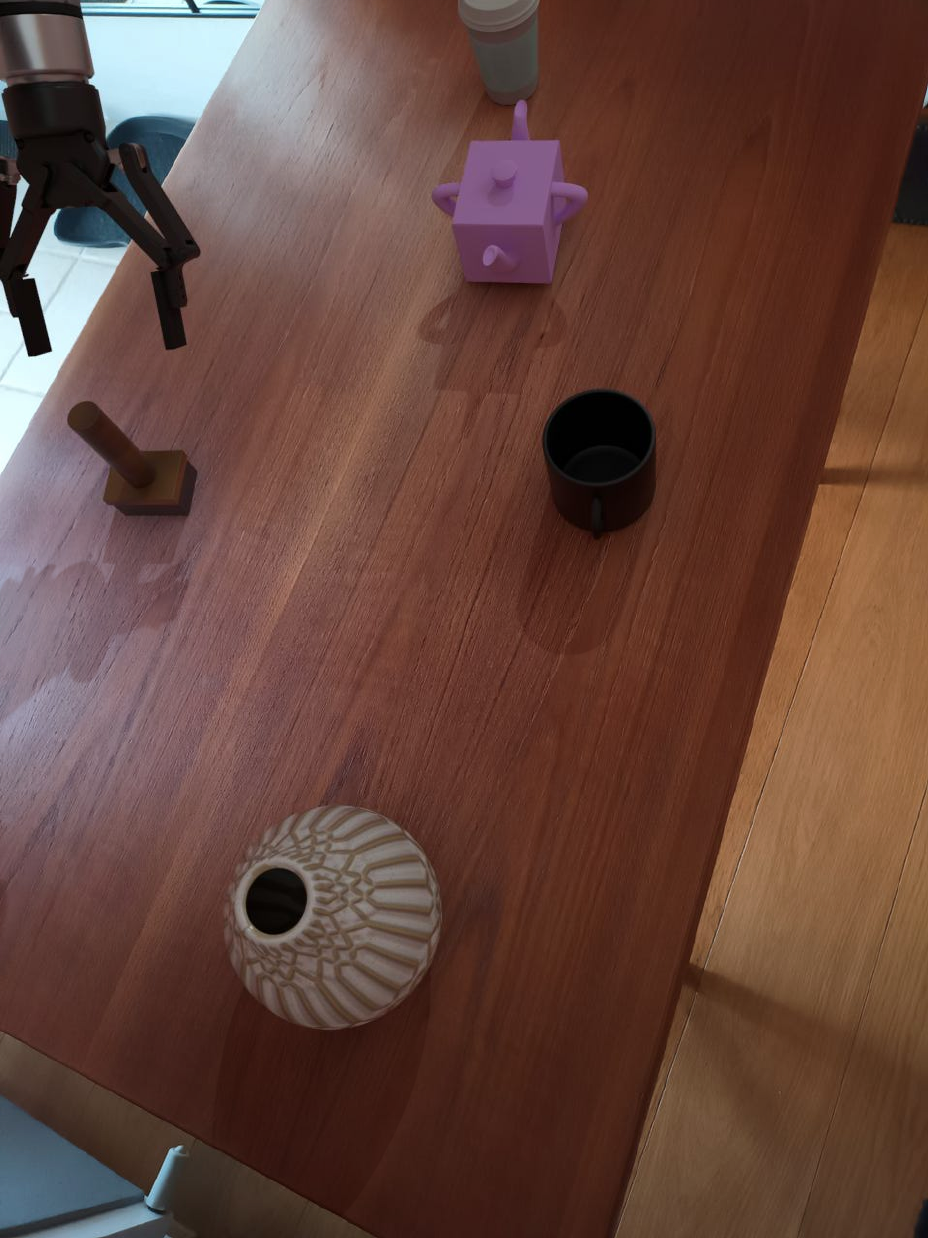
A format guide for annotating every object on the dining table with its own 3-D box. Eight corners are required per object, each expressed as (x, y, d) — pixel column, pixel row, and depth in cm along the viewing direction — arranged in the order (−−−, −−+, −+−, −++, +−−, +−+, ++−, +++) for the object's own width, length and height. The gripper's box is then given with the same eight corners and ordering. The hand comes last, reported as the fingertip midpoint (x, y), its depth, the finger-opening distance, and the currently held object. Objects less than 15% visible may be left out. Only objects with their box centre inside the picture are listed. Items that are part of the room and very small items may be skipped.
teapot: (614, 263, 96) (609, 179, 86) (501, 332, 96) (483, 256, 86) (534, 174, 102) (521, 86, 92) (428, 238, 102) (403, 157, 92)
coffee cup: (516, 46, 109) (500, -59, 98) (565, 81, 106) (555, -24, 95) (459, 90, 108) (437, -11, 97) (507, 126, 105) (491, 26, 94)
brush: (122, 517, 96) (37, 443, 83) (133, 470, 98) (51, 390, 85) (190, 517, 95) (114, 441, 81) (200, 469, 97) (127, 387, 83)
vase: (499, 920, 76) (451, 900, 57) (355, 1072, 74) (257, 1102, 55) (369, 782, 82) (288, 724, 63) (232, 919, 80) (108, 900, 61)
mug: (546, 559, 86) (535, 514, 78) (555, 442, 90) (545, 388, 82) (652, 561, 84) (652, 515, 76) (657, 442, 88) (657, 386, 80)
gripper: (209, 72, 79) (252, 337, 87) (-54, 101, 84) (10, 350, 92) (167, 63, 72) (218, 351, 81) (-117, 95, 77) (-41, 363, 86)
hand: (107, 351), depth 86 cm, fingers open, 13 cm apart
